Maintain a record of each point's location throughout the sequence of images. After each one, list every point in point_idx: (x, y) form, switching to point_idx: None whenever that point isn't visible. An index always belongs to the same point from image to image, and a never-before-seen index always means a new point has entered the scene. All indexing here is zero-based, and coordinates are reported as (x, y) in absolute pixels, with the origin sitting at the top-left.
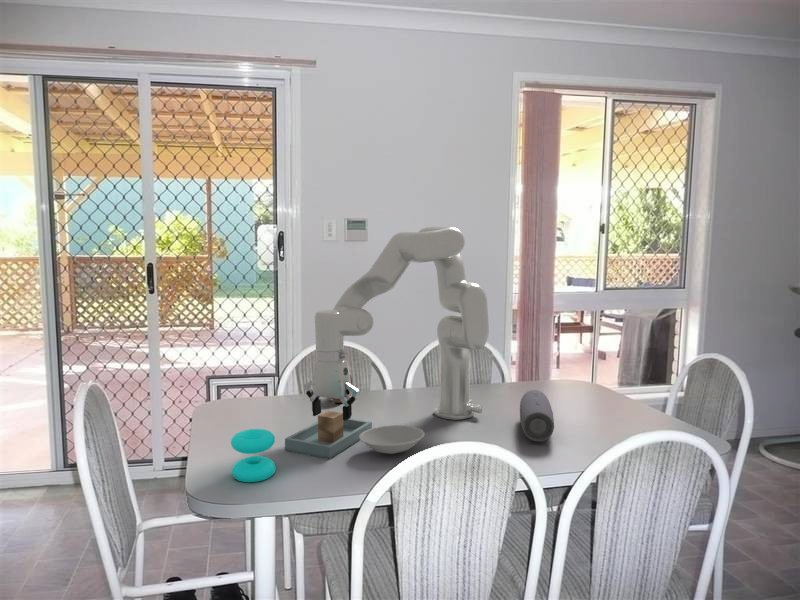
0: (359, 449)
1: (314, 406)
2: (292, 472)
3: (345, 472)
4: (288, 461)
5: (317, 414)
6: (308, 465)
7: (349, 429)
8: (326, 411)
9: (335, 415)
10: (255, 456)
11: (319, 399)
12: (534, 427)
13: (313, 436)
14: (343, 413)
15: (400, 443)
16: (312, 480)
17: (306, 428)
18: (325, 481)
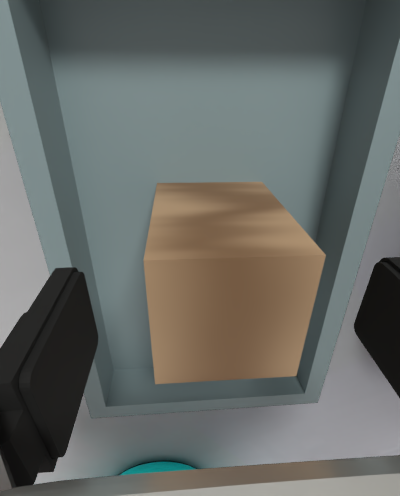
0: (378, 246)
1: (69, 417)
2: (237, 446)
3: (378, 398)
4: (180, 416)
5: (93, 318)
6: (254, 410)
7: (227, 8)
8: (146, 285)
9: (282, 329)
10: None
11: (7, 392)
12: None
13: (102, 240)
14: (393, 379)
15: None
16: (309, 450)
17: None
18: (342, 443)
